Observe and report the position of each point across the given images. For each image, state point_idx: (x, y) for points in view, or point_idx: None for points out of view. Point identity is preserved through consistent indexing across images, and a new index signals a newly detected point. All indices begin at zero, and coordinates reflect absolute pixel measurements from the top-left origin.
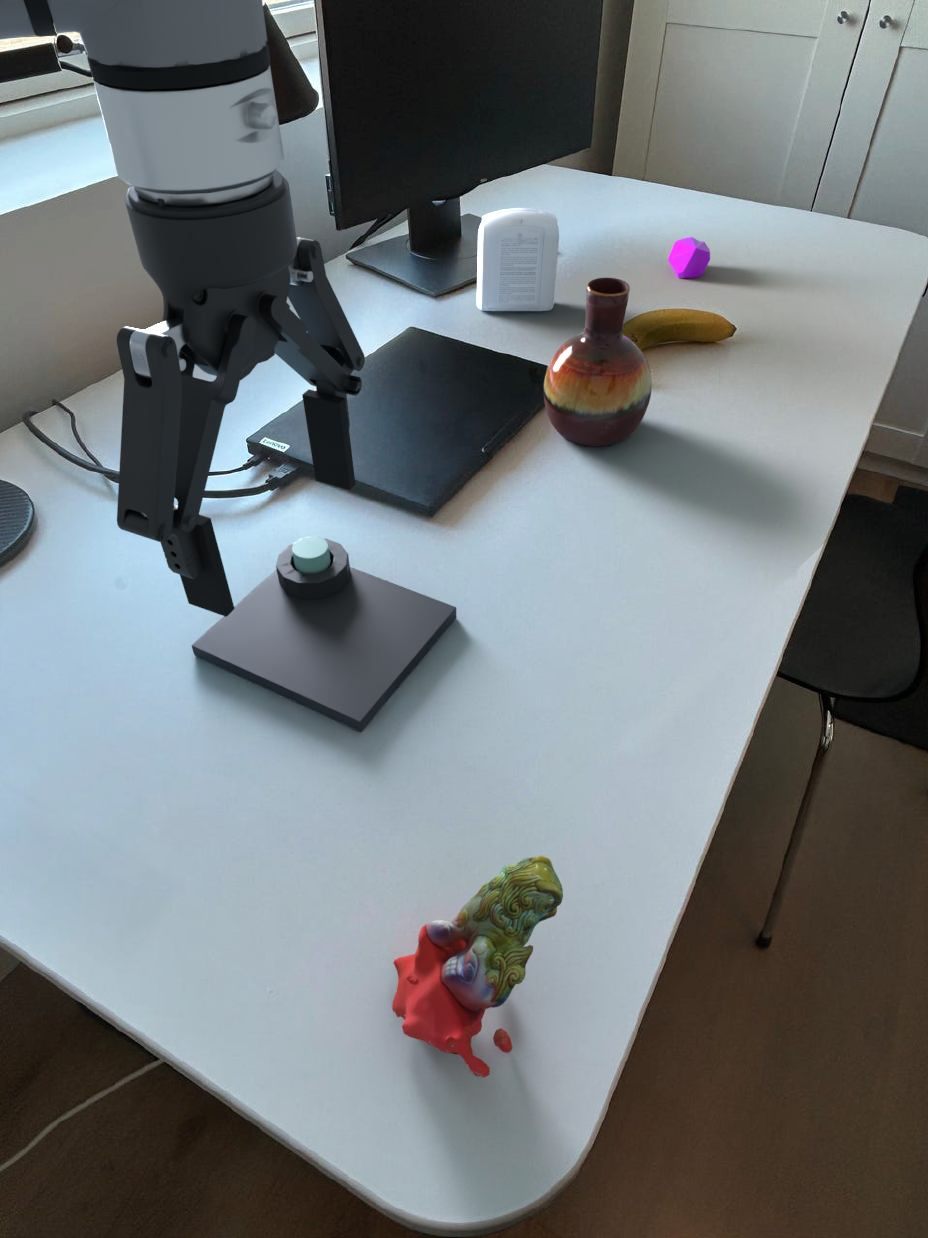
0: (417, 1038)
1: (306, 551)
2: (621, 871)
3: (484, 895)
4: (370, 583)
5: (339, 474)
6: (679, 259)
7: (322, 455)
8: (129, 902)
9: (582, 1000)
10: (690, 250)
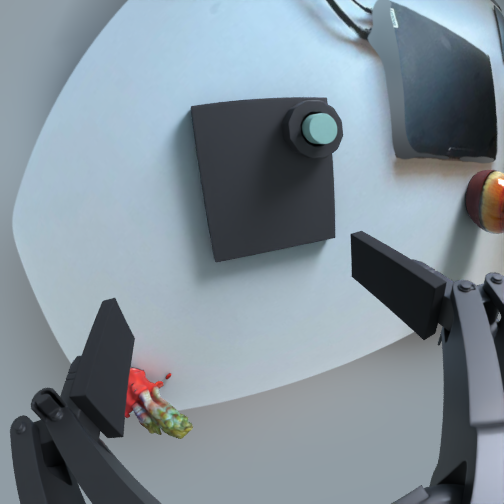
0: None
1: (318, 129)
2: (232, 384)
3: (161, 419)
4: (325, 171)
5: (361, 275)
6: None
7: (374, 264)
8: (52, 249)
9: (178, 400)
10: None
